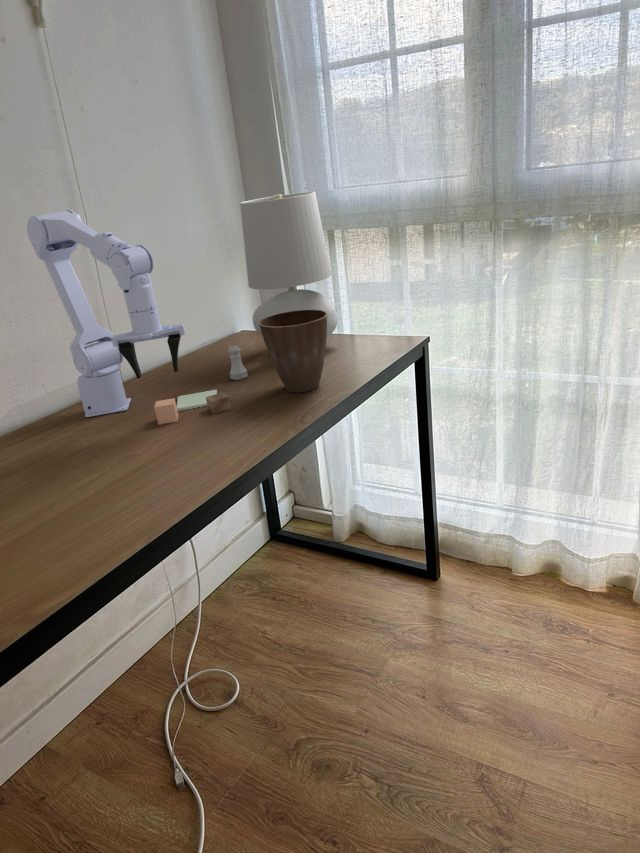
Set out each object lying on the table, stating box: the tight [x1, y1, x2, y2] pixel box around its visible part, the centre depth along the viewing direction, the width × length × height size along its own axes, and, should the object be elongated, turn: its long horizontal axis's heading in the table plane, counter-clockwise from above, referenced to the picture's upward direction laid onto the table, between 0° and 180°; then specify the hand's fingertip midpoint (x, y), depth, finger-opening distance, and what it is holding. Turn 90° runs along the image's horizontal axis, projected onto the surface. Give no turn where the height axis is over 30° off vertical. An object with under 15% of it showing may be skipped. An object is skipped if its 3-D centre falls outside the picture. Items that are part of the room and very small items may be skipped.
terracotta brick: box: [153, 397, 179, 425], centre depth 142 cm, size 4×4×4 cm
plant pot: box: [259, 310, 328, 393], centre depth 148 cm, size 15×15×16 cm
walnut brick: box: [206, 392, 232, 414], centre depth 144 cm, size 4×4×3 cm
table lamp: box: [239, 191, 338, 338], centre depth 172 cm, size 23×22×40 cm
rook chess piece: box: [227, 344, 249, 381], centre depth 163 cm, size 4×4×8 cm
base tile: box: [176, 389, 218, 412], centre depth 151 cm, size 9×9×1 cm
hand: (157, 373), depth 139 cm, fingers open, 7 cm apart
